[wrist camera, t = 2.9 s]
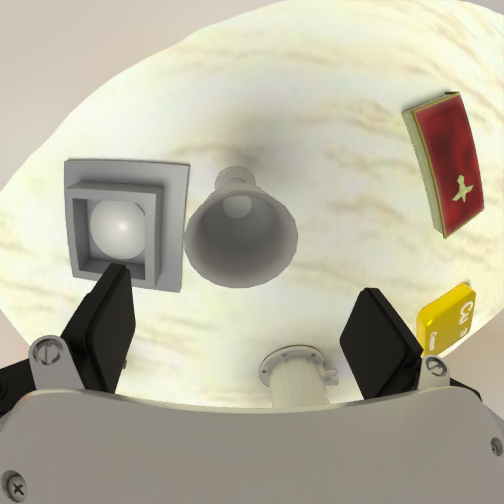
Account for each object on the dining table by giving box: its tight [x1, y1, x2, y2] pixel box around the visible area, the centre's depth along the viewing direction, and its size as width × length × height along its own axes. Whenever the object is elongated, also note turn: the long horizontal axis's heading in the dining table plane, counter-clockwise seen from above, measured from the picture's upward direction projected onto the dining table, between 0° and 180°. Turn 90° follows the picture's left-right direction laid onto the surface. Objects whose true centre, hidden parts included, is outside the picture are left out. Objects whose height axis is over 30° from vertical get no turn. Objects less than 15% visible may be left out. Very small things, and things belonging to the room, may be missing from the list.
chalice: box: [184, 167, 298, 288], centre depth 25 cm, size 7×7×18 cm
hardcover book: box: [401, 92, 484, 239], centre depth 32 cm, size 12×21×4 cm, turn 29°
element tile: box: [417, 283, 476, 357], centre depth 47 cm, size 15×15×5 cm
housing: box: [64, 160, 190, 293], centre depth 32 cm, size 18×18×5 cm
